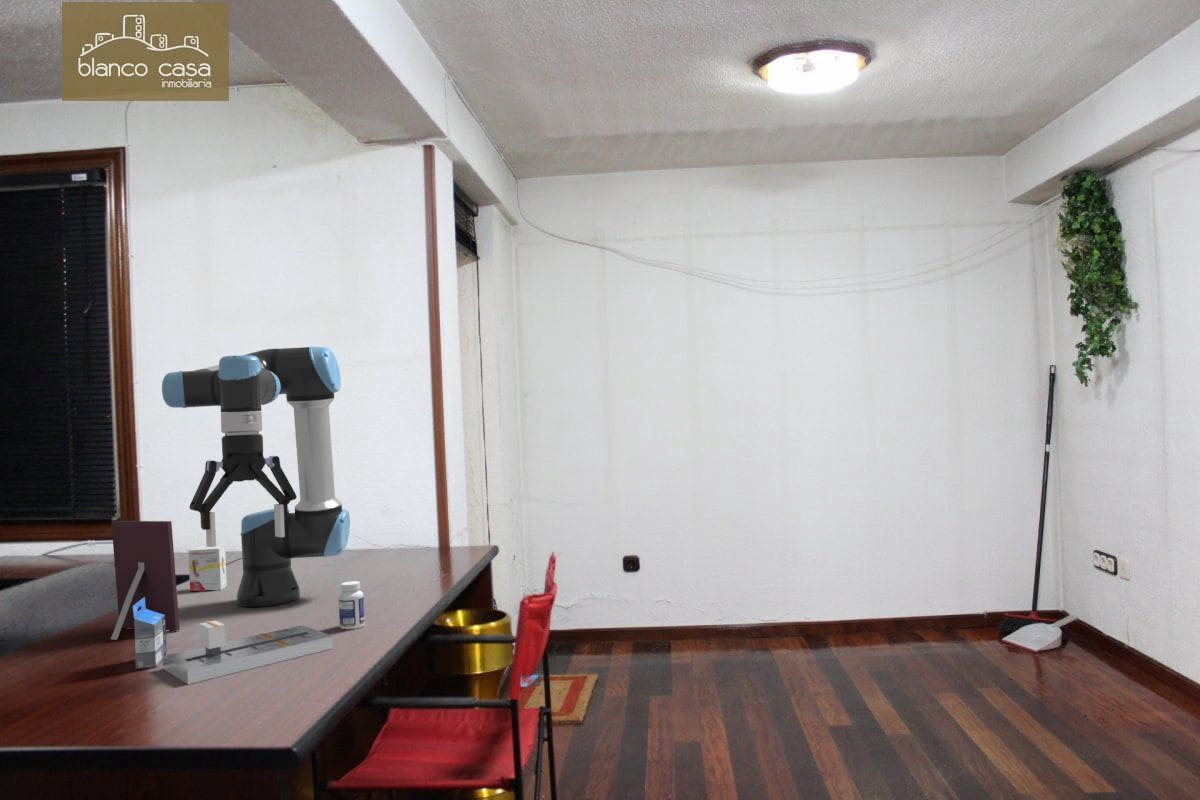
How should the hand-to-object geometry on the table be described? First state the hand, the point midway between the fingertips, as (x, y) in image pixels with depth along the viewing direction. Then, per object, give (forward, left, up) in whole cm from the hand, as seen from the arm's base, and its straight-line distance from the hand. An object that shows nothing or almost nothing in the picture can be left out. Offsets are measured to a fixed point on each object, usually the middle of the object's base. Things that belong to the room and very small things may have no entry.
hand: (246, 541), depth 171 cm
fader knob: (0, -7, -23) cm, 24 cm away
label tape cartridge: (-14, -14, -23) cm, 31 cm away
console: (0, 0, -23) cm, 23 cm away
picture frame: (-41, -10, -23) cm, 49 cm away
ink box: (-78, +19, -23) cm, 84 cm away
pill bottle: (-6, +25, -23) cm, 35 cm away
